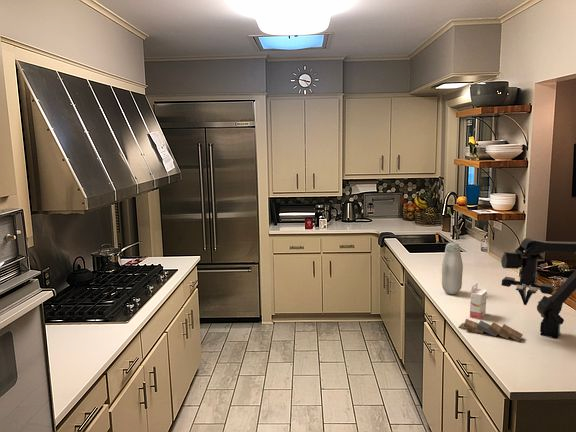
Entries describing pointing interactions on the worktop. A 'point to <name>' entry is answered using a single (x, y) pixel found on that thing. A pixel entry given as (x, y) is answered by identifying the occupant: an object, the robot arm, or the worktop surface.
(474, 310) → the ink cartridge box
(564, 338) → the worktop surface
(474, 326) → the domino
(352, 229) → the worktop surface
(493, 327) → the domino
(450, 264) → the gray bottle
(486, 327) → the gray domino
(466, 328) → the domino
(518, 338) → the domino
